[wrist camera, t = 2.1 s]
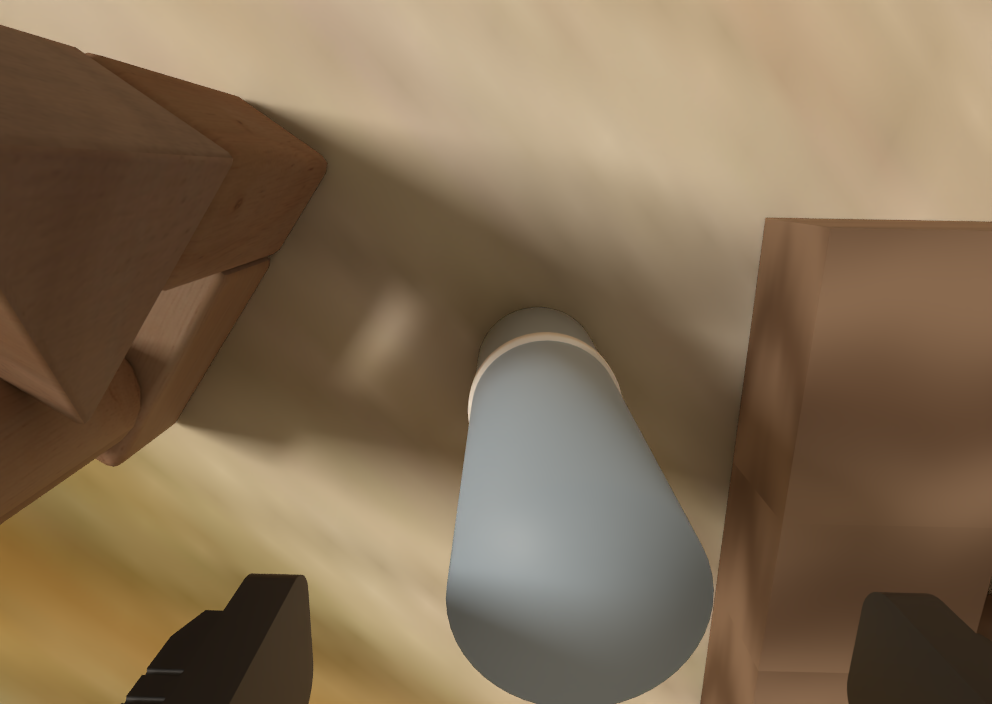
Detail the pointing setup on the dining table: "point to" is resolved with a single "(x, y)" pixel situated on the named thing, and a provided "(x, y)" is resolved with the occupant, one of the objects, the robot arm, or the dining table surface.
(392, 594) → the dining table surface
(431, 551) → the dining table surface
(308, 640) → the robot arm
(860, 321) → the socket block
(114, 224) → the brown wedge-headed part
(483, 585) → the peg
